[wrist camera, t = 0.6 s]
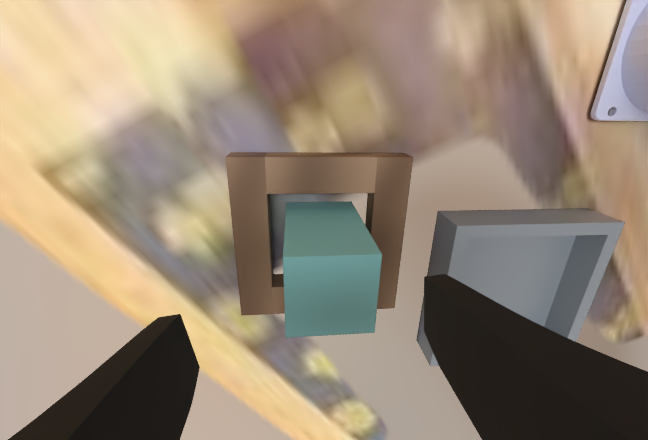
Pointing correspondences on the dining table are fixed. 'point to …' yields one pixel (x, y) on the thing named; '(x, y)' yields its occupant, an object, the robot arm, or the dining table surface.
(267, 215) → the tan square frame
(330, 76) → the dining table surface
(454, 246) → the tray
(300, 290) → the peg
